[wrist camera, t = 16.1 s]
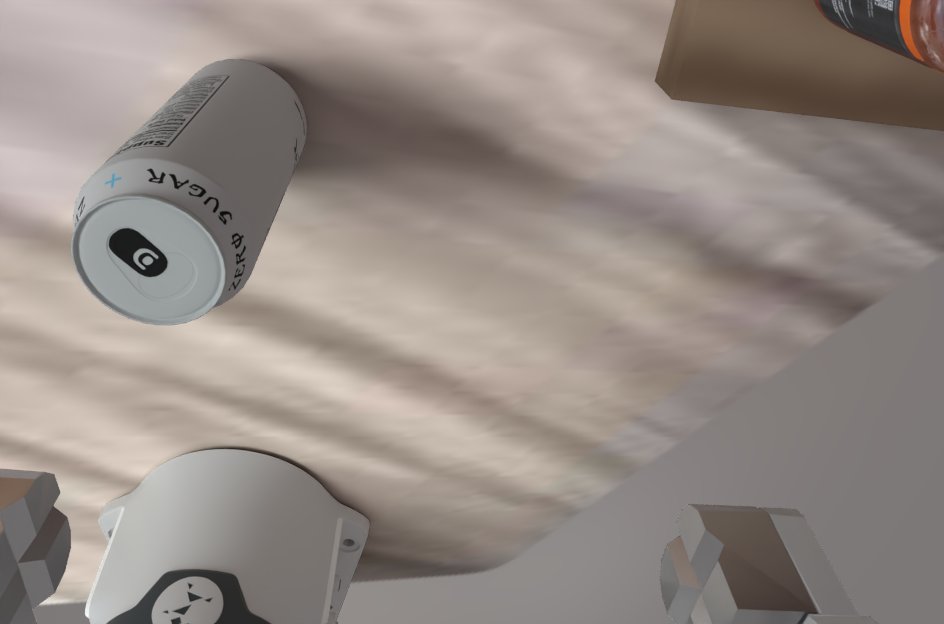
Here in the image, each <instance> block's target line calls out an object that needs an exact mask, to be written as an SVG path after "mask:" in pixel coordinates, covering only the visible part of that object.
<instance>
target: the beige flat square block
mask: <svg viewBox="0 0 944 624" xmlns="http://www.w3.org/2000/svg"><path fill="white" fill-rule="evenodd" d="M655 82H656V83H657V84H658V85H659V86H660V87H661V88H662V89H663V90H664V91H665V93H666V94H667V95H668V96H669V97H670V98H671V99H673V100H681V101H690V102H699V103H707V104H716V105H724V106H733V107H742V108H750V109H759V110H768V111H776V112H785V113H793V114H802V115H811V116H819V117H828V118H837V119H845V120H854V121H863V122H871V123H880V124H888V125H897V126H906V127H914V128H923V129H932V130H940V131H944V73H942V72H939V71H936V70H934V69H932V68H929V67H927V66H924V65H922V64H920V63H918V62H915V61H913V60H911V59H909V58H906V57H904V56H902V55H899V54H897V53H894V52H892V51H890V50H888V49H885V48H883V47H881V46H879V45H877V44H874V43H872V42H869V41H867V40H865V39H862V38H860V37H858V36H856V35H853V34H851V33H849V32H847V31H846V30H844V29H841V28H839V27H837V26H835V25H834V24H832V23H831V22H829V21H828V20H827V19H826V18H825V17H824V16H823V15H822V14H821V12H820V11H819V10H818V8H817V6H816V5H815V2H814V0H676V4H675V7H674V11H673V15H672V19H671V22H670V26H669V30H668V34H667V38H666V41H665V45H664V49H663V53H662V57H661V60H660V64H659V68H658V72H657V76H656V79H655Z"/></svg>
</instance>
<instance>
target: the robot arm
mask: <svg viewBox="0 0 944 624" xmlns="http://www.w3.org/2000/svg"><path fill="white" fill-rule="evenodd" d="M59 494H60V490H59V487H58V484H57V481H56V478H55V475H54V474H51V473H47V472H37V471H24V470H11V469H0V624H37V621H36V618H35V615H34V611H33V608H35V607H36V606H37V605H39V604H40V603H42V602H43V601H44V600H46V599H47V598H48V597H50V596H51V595H52V594H54V593H55V591H56V589H57V587H58V585H59V583H60V581H61V579H62V576H63V574H64V572H65V569H66V565H67V561H68V557H69V553H70V549H71V530H70V526H69V522H68V518H67V517H66V516H65V515H64V514H63V513H61V512H60V511H59V510H58V509H56V508H55V507H54V506H53V505H54V503H55V502H56V500H57V498H58V496H59ZM98 522H99V526H100V528H101V530H102V531H103V533H104V535H105V537H106V539H107V540H108V542H109V544H108V547H107V549H106V552H105V555H104V557H103V560H102V563H101V565H100V568H99V571H98V573H97V576H96V579H95V581H94V584H93V587H92V590H91V592H90V595H89V598H88V601H87V604H86V609H85V615H86V617H88V618H89V619H90V623H91V624H338V622H336V620H337V617H338V615H339V612H340V609H341V607H342V604H343V601H344V599H345V596H346V593H347V591H348V588H349V585H350V583H351V580H352V578H353V575H354V572H355V570H356V567H357V564H358V562H359V559H360V556H361V554H362V551H363V548H364V546H365V543H366V540H367V538H368V533H369V529H370V522H369V520H368V519H367V518H366V517H365V516H363V515H362V514H360V513H358V512H357V511H355V510H353V509H351V508H349V507H347V506H345V505H343V504H340V503H339V502H338V501H336V500H335V499H334V498H333V497H332V496H331V495H330V494H329V493H328V492H327V490H326V489H325V488H324V487H323V486H322V485H321V484H320V483H319V482H318V481H317V480H315V479H314V478H313V477H312V476H310V475H309V474H307V473H306V472H304V471H303V470H301V469H300V468H298V467H296V466H294V465H292V464H290V463H288V462H285V461H283V460H280V459H278V458H275V457H272V456H268V455H265V454H261V453H256V452H251V451H244V450H234V449H214V450H204V451H197V452H192V453H188V454H185V455H182V456H179V457H176V458H173V459H171V460H169V461H167V462H165V463H163V464H162V465H160V466H158V467H157V468H156V469H154V470H153V471H152V472H151V473H150V474H149V475H148V476H147V477H146V478H145V479H144V480H143V481H142V482H141V484H140V485H139V486H138V487H137V488H136V489H135V490H134V491H133V492H131V493H129V494H127V495H124V496H122V497H119V498H117V499H115V500H113V501H111V502H109V503H107V504H106V505H105V506H104V507H103V508H102V511H101V514H100V517H99V521H98ZM676 523H677V526H678V529H679V532H680V536H678V537H677V538H675V539H674V540H672V541H671V542H669V543H668V544H667V546H666V548H665V551H664V554H663V557H662V559H661V570H660V584H661V591H662V597H663V601H664V604H665V608H666V611H667V614H668V615H669V616H670V617H671V618H672V619H673V620H674V621H675V622H676V623H677V624H879V623H878V622H877V621H876V620H874V619H873V618H872V617H870V616H860V615H859V614H858V612H857V610H856V608H855V606H854V605H853V603H852V601H851V599H850V597H849V596H848V594H847V592H846V590H845V589H844V587H843V585H842V583H841V581H840V580H839V578H838V576H837V574H836V572H835V571H834V569H833V567H832V565H831V564H830V562H829V560H828V558H827V556H826V554H825V553H824V551H823V549H822V548H821V546H820V544H819V542H818V540H817V538H816V537H815V535H814V533H813V531H812V529H811V528H810V526H809V524H808V523H807V520H806V519H805V517H804V516H803V515H802V514H801V513H800V512H799V511H798V510H796V509H787V508H765V507H759V508H757V507H751V506H726V505H699V504H688V505H687V506H686V507H685V508H683V509H682V510H681V513H680V515H679V517H678V520H677V522H676Z"/></svg>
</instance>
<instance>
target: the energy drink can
mask: <svg viewBox="0 0 944 624" xmlns="http://www.w3.org/2000/svg"><path fill="white" fill-rule="evenodd" d="M306 135H307V122H306V116H305V113H304V109H303V106H302V104H301V102H300V100H299V98H298V96H297V94H296V93H295V92H294V90H293V89H292V88H291V86H290V85H289V84H288V83H287V82H286V81H285V80H284V79H283V78H282V77H280V76H279V75H278V74H277V73H275V72H273V71H272V70H270V69H269V68H267V67H265V66H262V65H260V64H258V63H255V62H251V61H246V60H242V59H227V60H222V61H217V62H214V63H212V64H210V65H207V66H205V67H204V68H202V69H201V70H200V71H198V72H197V73H196V74H195V75H194V76H193V77H192V78H191V79H190V80H189V81H188V82H187V83H186V84H185V85H184V86H183V87H182V88H180V89H179V90H178V91H177V92H176V93H175V94H174V95H173V96H172V97H171V98H170V99H169V100H168V101H167V102H166V103H165V104H164V105H163V106H162V107H161V108H160V109H159V110H158V111H157V112H156V113H155V114H154V115H153V116H152V117H151V118H150V119H149V120H148V121H147V122H146V123H145V124H144V125H143V126H142V127H141V128H140V129H139V130H138V131H137V132H136V133H135V134H134V135H133V136H132V137H131V138H130V139H129V140H128V141H127V142H126V143H125V144H124V145H123V146H121V147H120V148H119V149H118V150H117V151H116V152H115V153H114V154H113V155H112V156H111V157H110V158H109V159H108V160H107V161H106V162H105V163H104V164H103V165H102V166H101V167H100V168H99V169H98V170H97V171H96V172H95V173H94V174H93V175H92V176H91V177H90V178H89V180H88V181H87V182H86V183H85V184H84V186H83V187H82V188H81V191H80V193H79V195H78V197H77V199H76V202H75V208H74V214H73V222H74V232H73V236H72V242H71V251H72V259H73V262H74V265H75V269H76V271H77V273H78V275H79V277H80V279H81V280H82V282H83V284H84V285H85V286H86V287H87V289H88V290H89V291H90V292H91V294H92V295H94V296H95V297H96V298H97V299H98V300H99V301H100V302H101V303H102V304H104V305H105V306H107V307H108V308H110V309H111V310H113V311H114V312H116V313H118V314H120V315H122V316H125V317H127V318H129V319H132V320H135V321H138V322H142V323H146V324H153V325H176V324H182V323H187V322H190V321H192V320H195V319H198V318H199V317H201V316H203V315H204V314H206V313H207V312H209V311H210V310H211V309H212V308H214V307H217V306H219V305H221V304H223V303H225V302H226V301H228V300H229V299H231V298H233V297H234V296H235V295H236V294H237V293H238V292H239V291H240V290H241V289H242V288H243V287H244V285H245V284H246V282H247V280H248V279H249V277H250V275H251V273H252V271H253V268H254V266H255V263H256V261H257V259H258V256H259V254H260V251H261V249H262V247H263V244H264V242H265V240H266V237H267V235H268V232H269V230H270V228H271V225H272V223H273V220H274V218H275V216H276V213H277V211H278V208H279V206H280V204H281V201H282V199H283V196H284V194H285V192H286V189H287V187H288V184H289V182H290V180H291V177H292V175H293V172H294V170H295V168H296V165H297V163H298V161H299V158H300V156H301V153H302V151H303V148H304V145H305V142H306Z"/></svg>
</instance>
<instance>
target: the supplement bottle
mask: <svg viewBox="0 0 944 624" xmlns="http://www.w3.org/2000/svg"><path fill="white" fill-rule="evenodd" d="M814 2H815V5H816V6H817V8H818V10H819V11H820V12H821V14H822V15H823V16H824V17H825V18H826V19H827V20H828V21H829V22H831V23H832V24H834V25H835V26H837V27H839V28H841V29H844V30H846V31H847V32H849V33H851V34H853V35H856V36H858V37H860V38H862V39H865V40H867V41H869V42H872V43H874V44H877V45H879V46H881V47H883V48H885V49H888V50H890V51H892V52H894V53H897V54H899V55H902V56H904V57H906V58H909V59H911V60H913V61H915V62H918V63H920V64H922V65H924V66H927V67H929V68H932V69H934V70H936V71H939V72H942V73H944V0H814Z"/></svg>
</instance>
